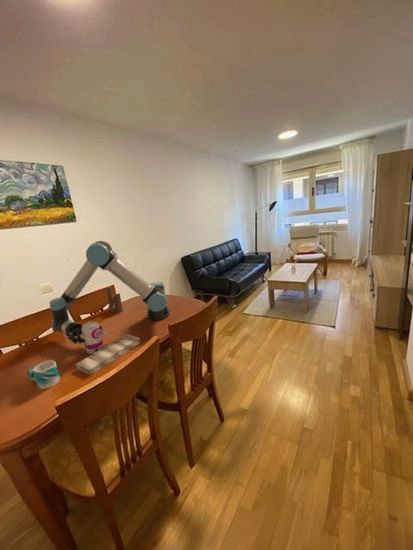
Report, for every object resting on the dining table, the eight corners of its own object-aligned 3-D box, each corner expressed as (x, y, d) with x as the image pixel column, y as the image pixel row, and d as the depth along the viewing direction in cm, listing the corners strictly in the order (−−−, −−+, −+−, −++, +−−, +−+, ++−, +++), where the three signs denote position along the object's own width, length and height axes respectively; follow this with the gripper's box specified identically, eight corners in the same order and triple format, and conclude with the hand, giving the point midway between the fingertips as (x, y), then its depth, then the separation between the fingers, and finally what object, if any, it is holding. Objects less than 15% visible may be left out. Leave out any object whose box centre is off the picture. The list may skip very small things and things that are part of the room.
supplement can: (106, 347, 129) (102, 321, 125) (94, 356, 121) (88, 329, 117) (96, 344, 132) (91, 319, 128) (83, 352, 125) (77, 326, 121)
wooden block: (119, 313, 174) (115, 289, 169) (108, 311, 179) (104, 288, 174) (123, 311, 177) (119, 287, 172) (112, 309, 182) (108, 286, 177)
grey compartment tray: (127, 338, 137) (126, 333, 136) (140, 342, 132) (139, 337, 131) (77, 369, 112) (76, 363, 112) (90, 375, 107) (89, 369, 107)
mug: (48, 390, 100) (44, 372, 98) (25, 387, 103) (19, 370, 100) (63, 376, 108) (59, 360, 106) (41, 374, 110) (36, 358, 108)
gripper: (90, 326, 143) (116, 334, 132) (54, 343, 126) (79, 355, 114) (88, 314, 141) (114, 322, 130) (51, 330, 124) (76, 340, 112)
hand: (97, 337), depth 122 cm, fingers closed on supplement can, 8 cm apart
